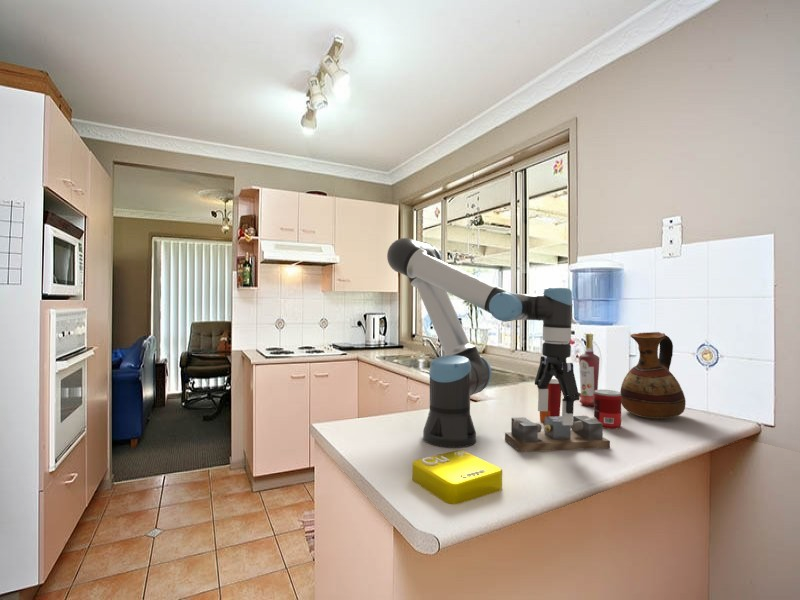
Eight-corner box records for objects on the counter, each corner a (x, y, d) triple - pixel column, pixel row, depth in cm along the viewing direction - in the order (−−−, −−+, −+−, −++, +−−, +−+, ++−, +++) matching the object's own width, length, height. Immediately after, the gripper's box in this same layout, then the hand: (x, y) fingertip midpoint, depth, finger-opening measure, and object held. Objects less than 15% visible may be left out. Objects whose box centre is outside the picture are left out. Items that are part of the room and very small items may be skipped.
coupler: (563, 433, 119) (563, 416, 119) (573, 439, 114) (573, 421, 114) (542, 434, 118) (542, 416, 118) (550, 439, 113) (550, 421, 113)
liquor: (603, 406, 160) (603, 334, 161) (591, 408, 157) (591, 334, 157) (586, 402, 167) (587, 333, 167) (574, 404, 163) (575, 333, 163)
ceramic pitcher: (608, 412, 152) (608, 330, 152) (641, 406, 161) (641, 329, 162) (663, 426, 134) (663, 334, 135) (697, 418, 144) (697, 332, 144)
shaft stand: (519, 451, 110) (519, 424, 110) (505, 439, 119) (505, 414, 120) (609, 448, 113) (610, 421, 113) (588, 436, 123) (588, 412, 123)
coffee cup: (561, 419, 141) (561, 375, 141) (564, 426, 133) (564, 379, 133) (535, 417, 143) (535, 374, 144) (536, 424, 135) (537, 378, 136)
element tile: (450, 508, 79) (451, 483, 80) (408, 480, 92) (408, 458, 92) (506, 490, 87) (506, 467, 87) (460, 466, 100) (460, 446, 100)
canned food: (626, 427, 133) (626, 393, 133) (608, 430, 130) (608, 395, 130) (606, 421, 140) (606, 388, 140) (588, 423, 137) (588, 390, 137)
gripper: (595, 347, 105) (593, 431, 105) (547, 338, 129) (545, 406, 129) (567, 347, 104) (565, 431, 104) (524, 337, 128) (522, 406, 128)
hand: (554, 417), depth 117 cm, fingers open, 13 cm apart
